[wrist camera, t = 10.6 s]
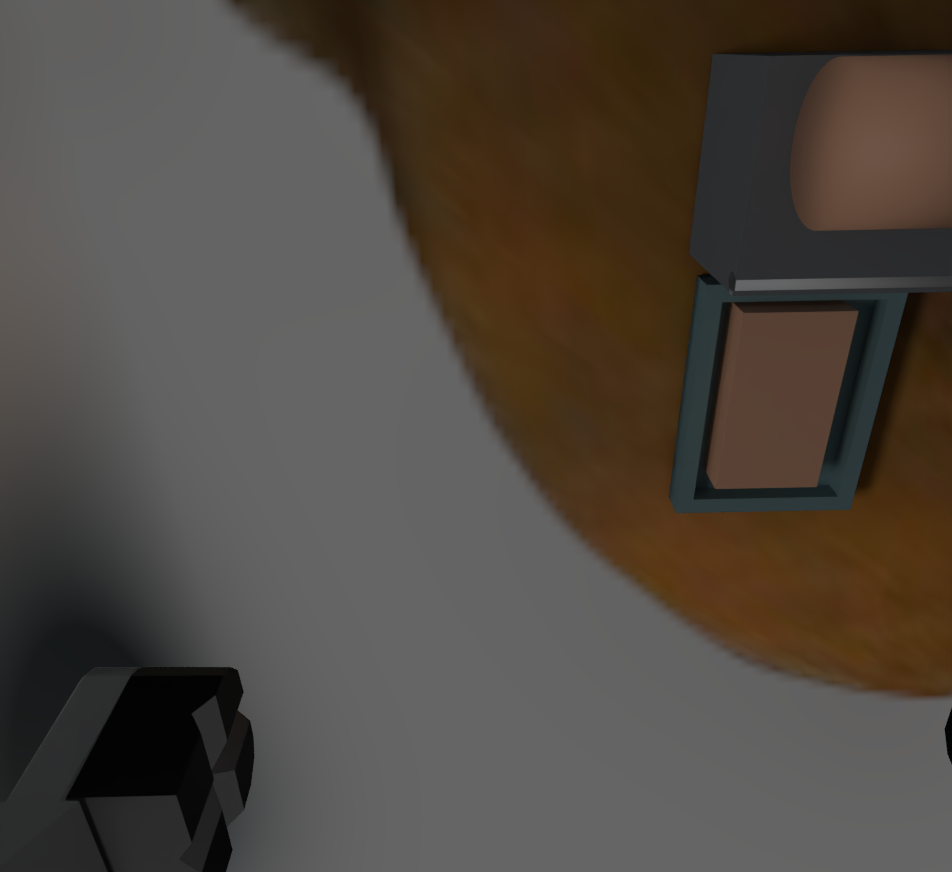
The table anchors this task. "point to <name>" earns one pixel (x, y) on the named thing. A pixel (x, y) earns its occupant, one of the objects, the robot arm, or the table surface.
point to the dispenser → (827, 173)
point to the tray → (849, 421)
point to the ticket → (777, 392)
